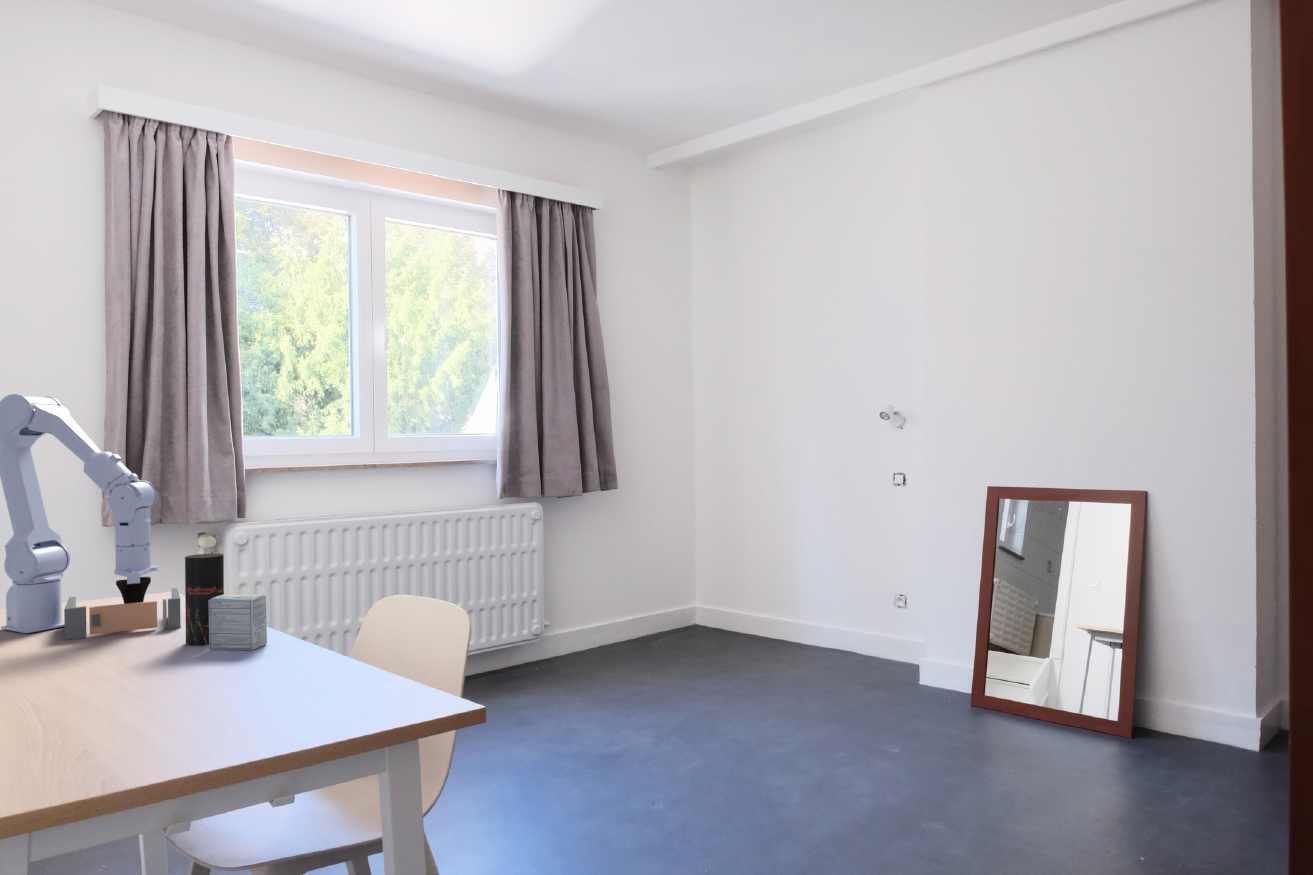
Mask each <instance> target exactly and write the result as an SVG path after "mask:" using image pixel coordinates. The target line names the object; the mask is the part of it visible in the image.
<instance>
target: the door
mask: <svg viewBox="0 0 1313 875" xmlns="http://www.w3.org/2000/svg"><path fill="white" fill-rule="evenodd" d="M88 610H89V620H88V621H89V635H98V634H99V635H100V634H107V633H109V634H110V633H117V632H118V633H119V632H130V631H137V630H145V629H155V628H157V629H158V601H157V600H151V601H143V602H138V603H128V604H124V603H119V604H118V603H117V604H107V605H96V606H89V608H88Z"/></svg>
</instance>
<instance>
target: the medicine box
mask: <svg viewBox="0 0 1313 875" xmlns="http://www.w3.org/2000/svg"><path fill="white" fill-rule="evenodd" d="M267 630H268V627H267V595H266V594H249V593H247V594H243V593H242V594H238V593H237V594H224V595H220V596H217V597H214V598H212V599H209V645H208V647H209V650H210V651H212V650H213V651H215V650H216V651H219V650H220V651H223V650H224V651H226V650H227V651H228V650H229V651H236V650H237V651H238V650H239V651H244V650H245V651H254V650H257V649H259V648H261V647H263V646H266V645H267V644H268V632H267Z"/></svg>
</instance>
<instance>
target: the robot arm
mask: <svg viewBox="0 0 1313 875" xmlns="http://www.w3.org/2000/svg"><path fill="white" fill-rule="evenodd" d="M70 413H71V412H70V410H69V409H68V408H66V407H65V406H64V405H62V403H61V402H60V401H59V400H58V399H57V398H55V397H53V396H36V395H22V394H18V393H14V394H13V393H12V394H9V395H6V396H4V397H3V398H2V399H1V400H0V481H1V486H2V490H3V495H4V498H5V502H6V507H7V510H8V515H9V518H10V522H11V528H12V531H13V535H12V536H11V537H10V539H9V540H8V541H7V542H6V544H5V545H4V550H5V560H4V564H3V567H4V571H5V574H6V575H7V577H8V578H9V579H11V581H12V582H11V583H12V585H11V586H10V587H8V590H7V592H6V594H5V595H6V596H5V610H6V612H5V614H6V616H5V618H6V620H5V625H1V626H0V629H1V630H6V631H11V632H17V633H21V634H31V633H37V632H40V631H48V630H52V629H59V628H65V624H64V621H63V619H62V618H63V616H62V615H63V613H62V608H63V607H62V603H63V602H62V578H64V573H65V572H66V571H67V569H68V568H69V566H70V563H71V555H70V553H69V550H68V548H66V546H65V545H64V544H63V541H62V539H61V535H60V534H59V533H57V531H55V530H53V529H52V528H51V527H50V526H49V522H48V517H47V514H46V513H47V512H46V509H45V505H44V500H43V497H42V493H41V487H40V484H39V480H38V475H37V472H36V467H35V466H36V465H35V462H34V458H33V454H32V450H31V448H32V446H33V445H34V444H35V443H36V442H37V440H38V439H40V438H41V437H43V436H44V435H46V434H48V435H52V436H54V438H56V439H57V440H58V441H59V442H60V443H61V444H63V446H65V447H66V448H67V449H68V450H69V451H71V452H72V453H73V454H74V455H75V456H76V457H77V458H79V459H80V460H81V461H82V462H83V472H84V473H85V475H86V476H87V477H88V478H89V479H91V481H92V482H93V483H94V484H95V485H96V486H97V488H100V490H101V491H102V492H103V493H104V494H105V495H106V496H107V498H106V499H107V504H108V506H109V508H110V509H111V510H112V512H113V519H114V520H115V521H114V523H115V524H114V525H115V526H114V530H115V531H114V533H115V535H114V536H115V537H114V538H115V539H114V542H115V543H114V544H115V546H114V547H115V549H114V550H115V569H114V572H113V574H114V575H116V576H121V577H126V579H118V580H116V581H115V585H116V587H117V589H118V590H119V592H120V594H121V596H122V597H121V598H122V601H123V604H128V603H138V602H145V601H144V600H145V596H146V592H147V591H148V588H149V587H150V584H151V583H152V582H151V581H152V580H151V578H152V577H151V576H143V575H146V574H149V573H151V572H157V571H159V566H158V565H152V555H151V553H152V550H151V548H152V546H151V541H152V540H151V539H152V538H151V508H153V506H154V505H155V503H156V502H157V491H156V488H155V487H154V486H153V484H152V482H150V481H148V480H143V479H142V480H140V479H139V475H138V474H136V473H135V472H134V473H133V472H132V471H131V470H130V469H129V468H127V466H126V465H125V464H124V463H122V461H121V460H122V457H121V456H120V455H119V454H117V453H113V452H111V451H101V449H100V448H98V446H97V444H95V442H93V440H92V439H91V438H90V437H89V436H88V435H87V434H86V433H85V431H84V430H83V429H82V428H81V427H80V426H79V425H78V423H77V422H76V421H75V420H74V418H72V416H71V414H70Z"/></svg>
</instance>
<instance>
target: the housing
mask: <svg viewBox="0 0 1313 875" xmlns="http://www.w3.org/2000/svg"><path fill="white" fill-rule="evenodd" d="M170 589H171V598H167V599H166V598H164V599H162V629H163V630H167V629H168V630H171V629H180V628H181V596H180V593H179V590H178V587H175V588H174V587H173V588H170ZM63 612H64V613H63V614H64V615H63V616H64V624H65V627H64V641H67V640H76V639H77V640H78V639H80V640H81V639H87V638H88V636H87V635H88V634H87V606H86V605H85V606H84V605H83V606H77V597H76V596H73V597H72V596H69V598H68V600H67V602H66V604H65V606H64V610H63Z"/></svg>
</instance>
